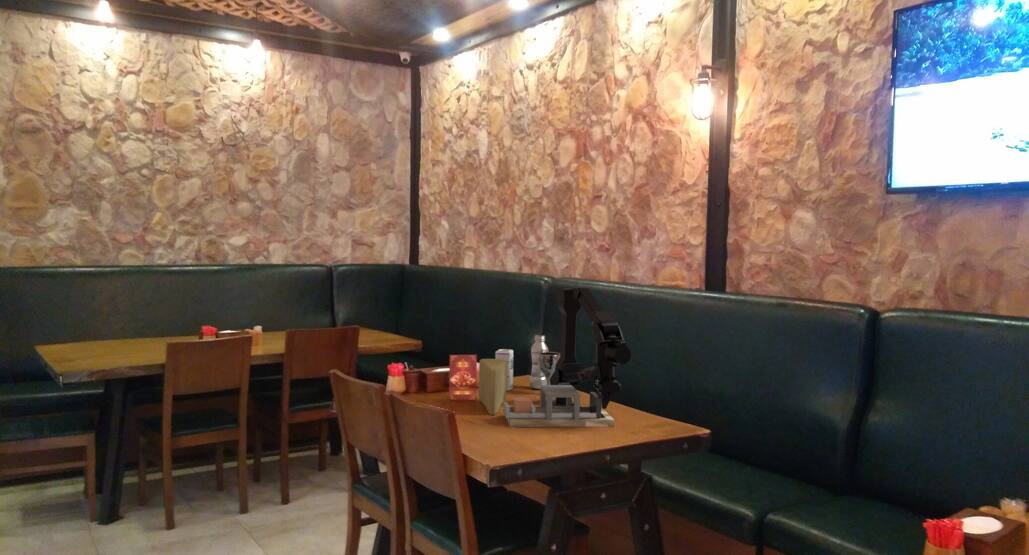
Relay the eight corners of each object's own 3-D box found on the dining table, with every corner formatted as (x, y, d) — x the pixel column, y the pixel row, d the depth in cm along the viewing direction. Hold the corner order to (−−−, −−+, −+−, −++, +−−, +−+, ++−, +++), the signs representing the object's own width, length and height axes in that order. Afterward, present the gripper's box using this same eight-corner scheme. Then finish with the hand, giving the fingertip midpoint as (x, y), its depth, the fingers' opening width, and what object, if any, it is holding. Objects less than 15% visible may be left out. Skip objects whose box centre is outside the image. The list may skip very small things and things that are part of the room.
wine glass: (559, 397, 283) (560, 355, 282) (537, 396, 283) (538, 354, 282) (558, 392, 291) (559, 351, 290) (536, 391, 291) (538, 351, 290)
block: (513, 413, 248) (513, 397, 248) (529, 413, 248) (529, 397, 248) (515, 416, 243) (515, 400, 243) (531, 416, 244) (531, 400, 243)
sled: (502, 410, 250) (503, 391, 250) (593, 410, 253) (594, 391, 253) (506, 418, 240) (506, 398, 240) (600, 418, 244) (601, 398, 243)
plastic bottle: (537, 386, 302) (539, 334, 300) (550, 389, 297) (552, 336, 296) (525, 388, 297) (527, 335, 296) (539, 391, 292) (540, 337, 291)
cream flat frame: (505, 416, 252) (505, 409, 252) (604, 415, 256) (604, 409, 256) (510, 427, 238) (510, 420, 238) (614, 426, 242) (614, 420, 242)
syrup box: (510, 390, 292) (511, 351, 291) (494, 389, 293) (495, 350, 292) (513, 387, 298) (514, 349, 297) (497, 386, 299) (498, 348, 298)
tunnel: (539, 409, 253) (540, 384, 253) (570, 409, 255) (571, 385, 254) (546, 420, 240) (547, 394, 239) (579, 420, 241) (580, 394, 240)
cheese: (507, 415, 253) (508, 369, 252) (477, 415, 253) (478, 368, 252) (506, 400, 275) (507, 357, 274) (478, 400, 275) (479, 357, 274)
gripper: (574, 354, 256) (572, 402, 257) (586, 364, 237) (584, 415, 238) (607, 354, 257) (606, 402, 258) (622, 364, 239) (621, 415, 240)
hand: (603, 408), depth 249 cm, fingers closed, pressing on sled
